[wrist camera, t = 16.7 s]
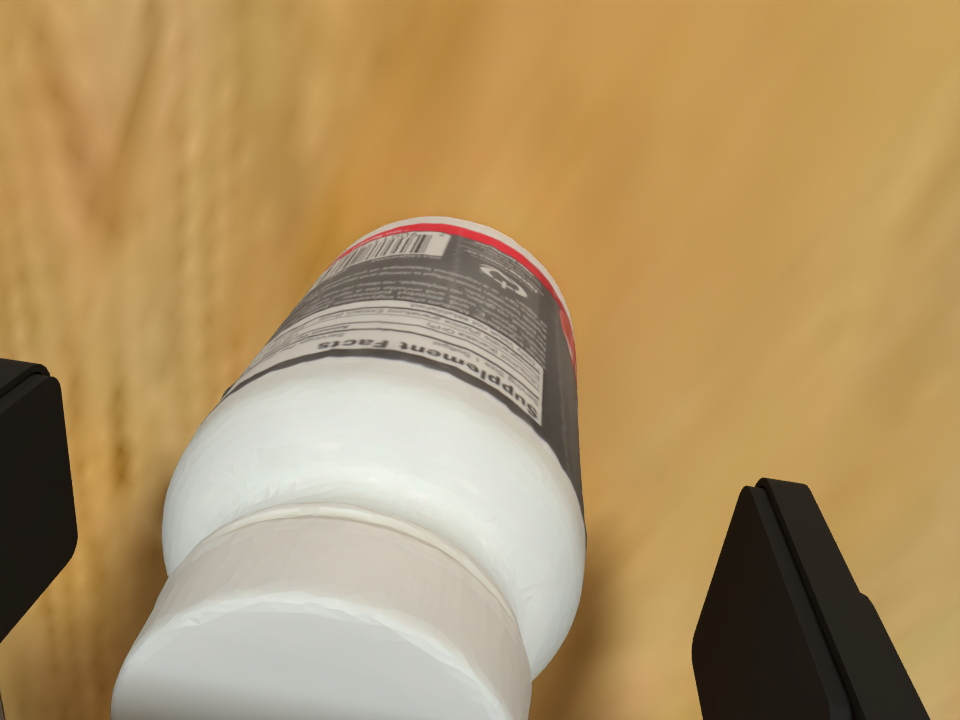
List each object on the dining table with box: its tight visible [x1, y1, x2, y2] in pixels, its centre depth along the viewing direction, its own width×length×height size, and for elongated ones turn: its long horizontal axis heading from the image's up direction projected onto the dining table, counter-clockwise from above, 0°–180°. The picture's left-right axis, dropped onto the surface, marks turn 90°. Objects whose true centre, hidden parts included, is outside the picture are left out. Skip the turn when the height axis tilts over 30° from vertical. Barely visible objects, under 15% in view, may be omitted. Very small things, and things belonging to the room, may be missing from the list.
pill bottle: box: [111, 216, 587, 720], centre depth 12 cm, size 5×5×10 cm
